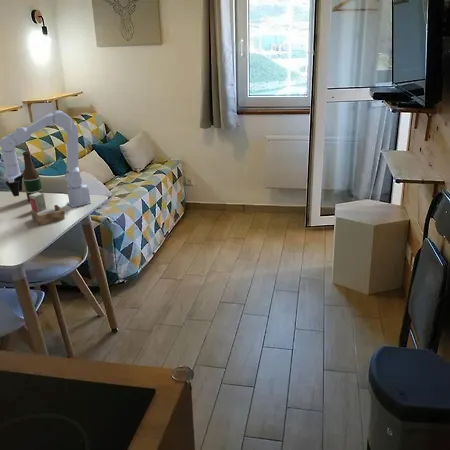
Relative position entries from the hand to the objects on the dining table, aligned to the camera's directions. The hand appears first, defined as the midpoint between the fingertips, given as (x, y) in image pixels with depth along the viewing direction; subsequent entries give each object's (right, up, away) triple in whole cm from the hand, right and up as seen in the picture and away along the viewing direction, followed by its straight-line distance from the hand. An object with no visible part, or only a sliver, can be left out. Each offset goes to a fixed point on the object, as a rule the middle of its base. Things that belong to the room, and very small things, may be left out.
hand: (18, 193), depth 217 cm
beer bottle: (-1, -1, +24) cm, 24 cm away
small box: (+6, -7, +8) cm, 13 cm away
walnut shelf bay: (+15, -12, -3) cm, 19 cm away
